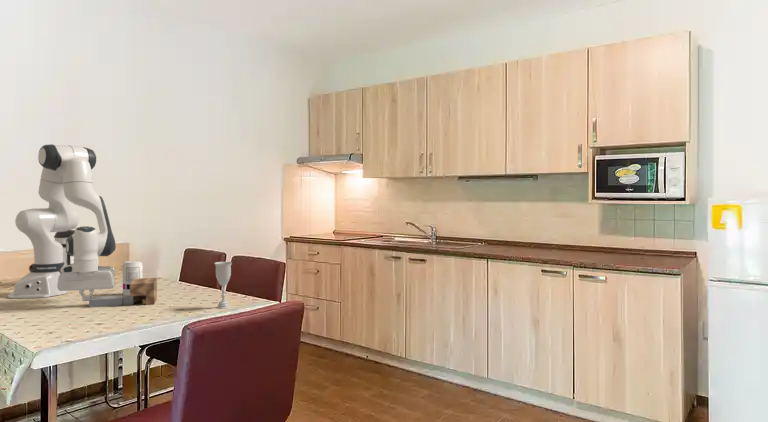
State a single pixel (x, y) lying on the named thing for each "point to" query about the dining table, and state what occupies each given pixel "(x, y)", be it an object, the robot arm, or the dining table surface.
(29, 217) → the robot arm
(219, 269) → the chalice
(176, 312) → the dining table surface
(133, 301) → the board
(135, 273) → the supplement can
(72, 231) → the coffee press
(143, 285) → the shelf block
